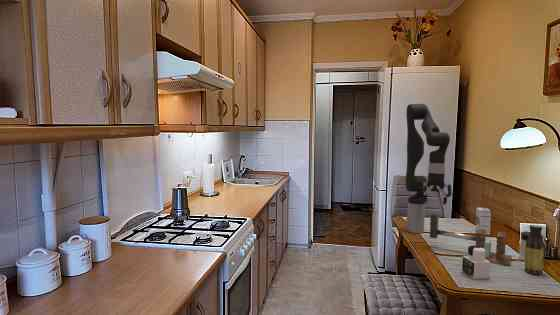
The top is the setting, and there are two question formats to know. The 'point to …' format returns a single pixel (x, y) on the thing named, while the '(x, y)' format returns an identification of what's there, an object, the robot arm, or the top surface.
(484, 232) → the bearing stand
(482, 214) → the syrup box
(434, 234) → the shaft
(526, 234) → the jar
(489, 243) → the spacer
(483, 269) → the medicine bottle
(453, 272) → the top surface
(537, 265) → the sauce bottle
